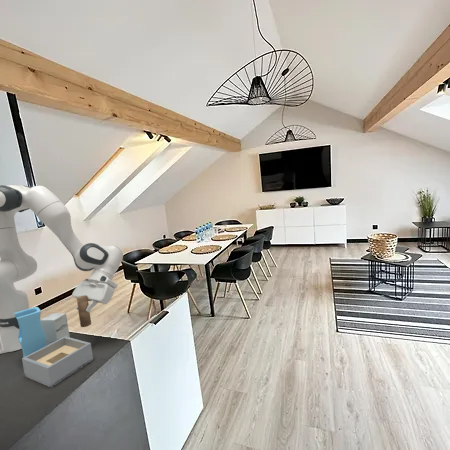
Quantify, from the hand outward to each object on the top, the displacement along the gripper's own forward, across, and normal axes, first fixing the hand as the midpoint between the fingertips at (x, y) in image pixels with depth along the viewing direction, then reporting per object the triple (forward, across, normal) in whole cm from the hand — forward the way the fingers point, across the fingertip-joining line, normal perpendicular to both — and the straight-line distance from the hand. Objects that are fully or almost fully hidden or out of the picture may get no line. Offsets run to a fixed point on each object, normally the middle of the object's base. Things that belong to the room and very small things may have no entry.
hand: (82, 310), depth 113 cm
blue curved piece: (+21, -14, +3) cm, 25 cm away
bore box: (+21, +2, +2) cm, 21 cm away
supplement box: (+14, -18, +10) cm, 24 cm away
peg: (+4, 0, +5) cm, 6 cm away
